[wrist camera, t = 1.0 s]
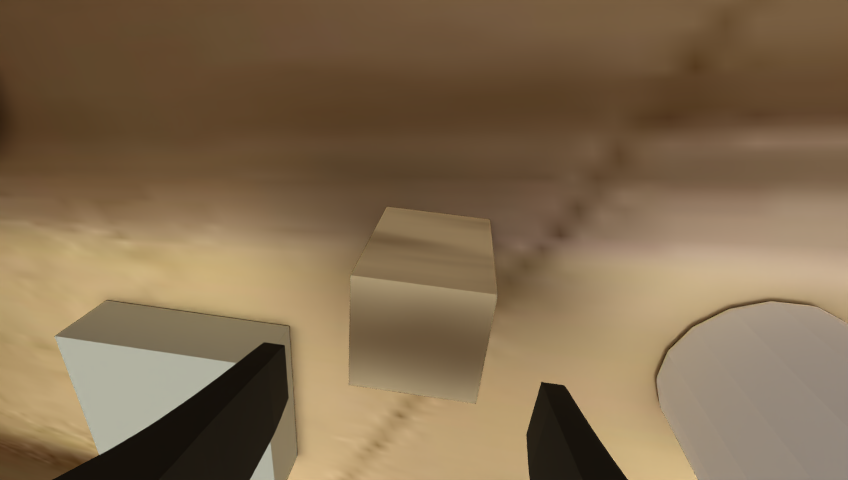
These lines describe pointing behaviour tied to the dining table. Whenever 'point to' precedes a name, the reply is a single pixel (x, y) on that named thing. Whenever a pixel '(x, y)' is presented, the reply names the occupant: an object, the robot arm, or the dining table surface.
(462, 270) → the block
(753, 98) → the dining table surface
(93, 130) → the dining table surface
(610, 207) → the dining table surface
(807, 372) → the soap bottle
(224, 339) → the base
